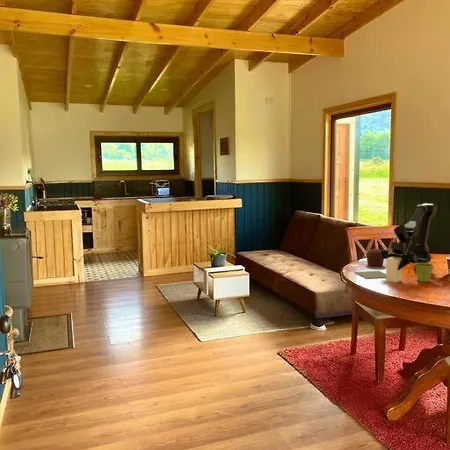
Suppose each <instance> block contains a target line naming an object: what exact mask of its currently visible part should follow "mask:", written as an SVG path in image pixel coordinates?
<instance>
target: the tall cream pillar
mask: <svg viewBox="0 0 450 450" xmlns="http://www.w3.org/2000/svg"><path fill="white" fill-rule="evenodd" d="M401 260H402V258H396V257H390V258H387V259H386V267H385V268H386V270H385V274H386V278H385V281H386V282H390V283H399V282H402V273H403V272H402V269H403V268H401V269H400V270H398V266H399V264H400V262H401Z"/></svg>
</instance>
